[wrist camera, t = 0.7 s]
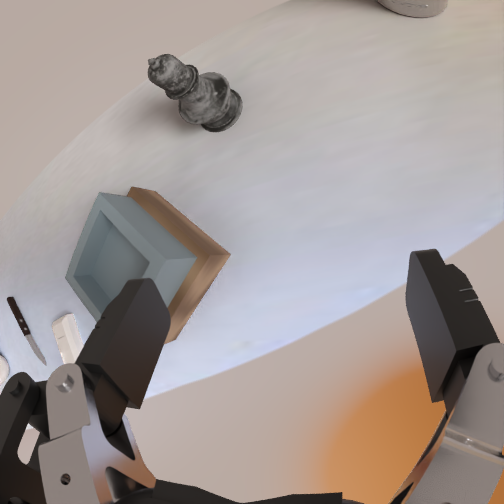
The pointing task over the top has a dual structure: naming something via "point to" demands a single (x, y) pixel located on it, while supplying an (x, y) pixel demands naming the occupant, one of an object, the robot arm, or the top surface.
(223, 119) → the salt shaker
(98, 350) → the robot arm
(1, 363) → the white knot sculpture
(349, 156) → the top surface
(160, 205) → the tower base
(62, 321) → the soap bar
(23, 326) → the kitchen knife
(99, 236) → the blue-grey square tray
